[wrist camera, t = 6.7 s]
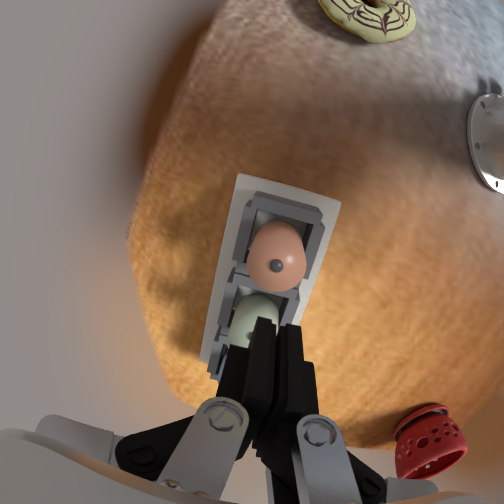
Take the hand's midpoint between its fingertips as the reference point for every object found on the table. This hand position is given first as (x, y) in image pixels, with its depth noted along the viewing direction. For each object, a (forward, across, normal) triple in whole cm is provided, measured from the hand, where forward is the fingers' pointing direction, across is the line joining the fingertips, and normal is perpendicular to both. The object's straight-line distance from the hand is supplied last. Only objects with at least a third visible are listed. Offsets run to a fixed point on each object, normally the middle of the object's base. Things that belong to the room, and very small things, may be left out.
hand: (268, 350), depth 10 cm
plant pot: (+19, -36, +27) cm, 49 cm away
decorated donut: (+19, -3, -27) cm, 33 cm away
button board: (+18, 0, +7) cm, 20 cm away
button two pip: (+14, 0, +7) cm, 15 cm away
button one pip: (+14, 0, 0) cm, 14 cm away
